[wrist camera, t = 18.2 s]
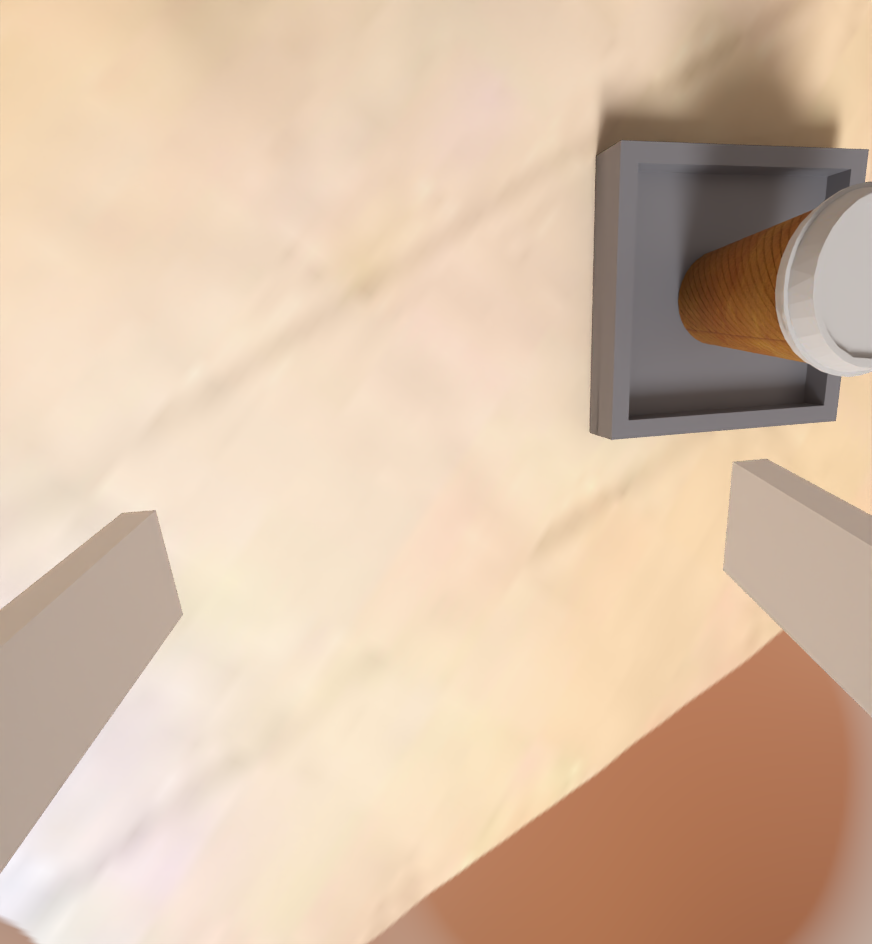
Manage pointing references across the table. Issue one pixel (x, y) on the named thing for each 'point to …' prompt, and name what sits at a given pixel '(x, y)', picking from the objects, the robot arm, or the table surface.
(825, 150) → the charcoal serving tray
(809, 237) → the disposable coffee cup
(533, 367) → the table surface
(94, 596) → the robot arm
